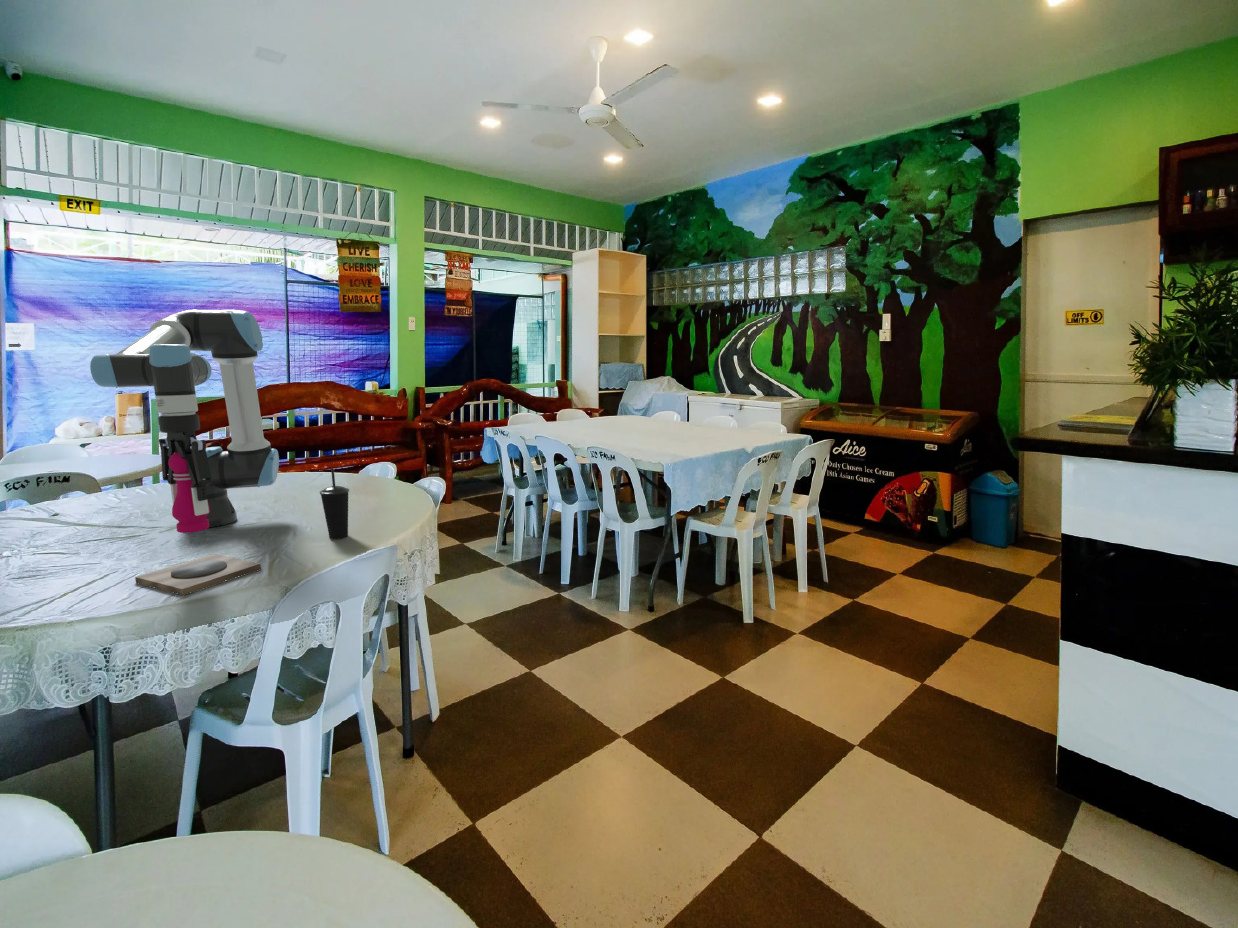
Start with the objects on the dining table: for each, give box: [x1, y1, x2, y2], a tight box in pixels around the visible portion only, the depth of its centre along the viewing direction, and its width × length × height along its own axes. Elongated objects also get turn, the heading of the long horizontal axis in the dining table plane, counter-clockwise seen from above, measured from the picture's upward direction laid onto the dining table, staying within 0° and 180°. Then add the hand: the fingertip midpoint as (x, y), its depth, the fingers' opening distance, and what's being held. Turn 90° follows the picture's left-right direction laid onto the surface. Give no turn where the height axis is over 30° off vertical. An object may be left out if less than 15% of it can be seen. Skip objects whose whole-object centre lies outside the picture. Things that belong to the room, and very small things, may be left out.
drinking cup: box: [319, 467, 350, 540], centre depth 174 cm, size 8×8×20 cm
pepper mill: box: [169, 453, 210, 534], centre depth 141 cm, size 7×7×20 cm
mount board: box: [134, 553, 262, 596], centre depth 145 cm, size 18×18×2 cm
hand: (191, 512), depth 142 cm, fingers closed on pepper mill, 7 cm apart
